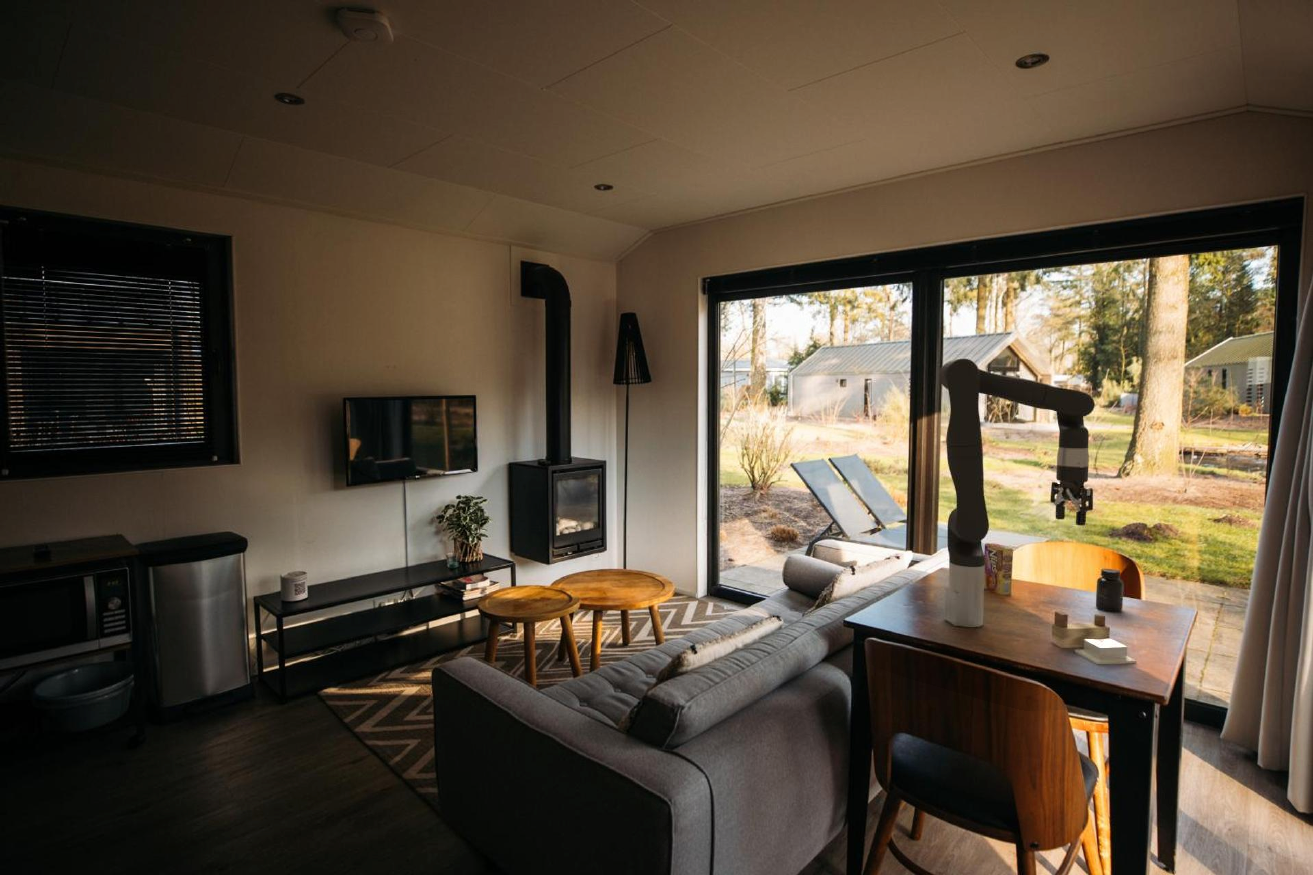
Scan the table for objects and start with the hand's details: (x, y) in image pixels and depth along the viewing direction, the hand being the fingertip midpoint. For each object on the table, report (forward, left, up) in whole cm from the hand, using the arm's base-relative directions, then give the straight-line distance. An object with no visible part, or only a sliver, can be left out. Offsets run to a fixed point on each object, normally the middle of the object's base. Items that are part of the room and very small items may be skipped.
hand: (1070, 522), depth 192 cm
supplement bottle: (+24, +14, -30) cm, 41 cm away
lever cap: (-5, -21, -29) cm, 37 cm away
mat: (-5, -22, -30) cm, 37 cm away
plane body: (-5, -12, -30) cm, 33 cm away
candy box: (+1, +36, -30) cm, 47 cm away
